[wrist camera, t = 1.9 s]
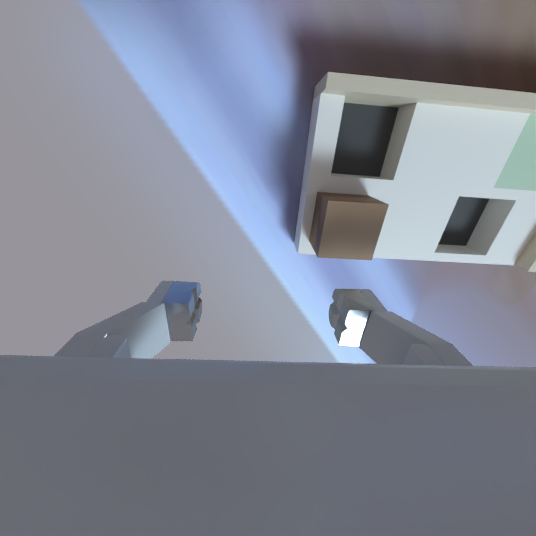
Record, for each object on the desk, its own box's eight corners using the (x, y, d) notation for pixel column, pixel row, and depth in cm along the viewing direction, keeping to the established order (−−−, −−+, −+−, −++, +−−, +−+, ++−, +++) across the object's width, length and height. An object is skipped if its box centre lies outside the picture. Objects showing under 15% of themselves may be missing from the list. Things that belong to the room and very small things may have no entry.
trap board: (314, 86, 21) (328, 71, 17) (581, 112, 22) (651, 105, 18) (294, 243, 28) (300, 259, 24) (498, 254, 29) (536, 271, 25)
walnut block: (317, 191, 22) (328, 200, 18) (368, 195, 22) (388, 204, 19) (309, 241, 24) (317, 257, 21) (355, 243, 25) (371, 260, 21)
